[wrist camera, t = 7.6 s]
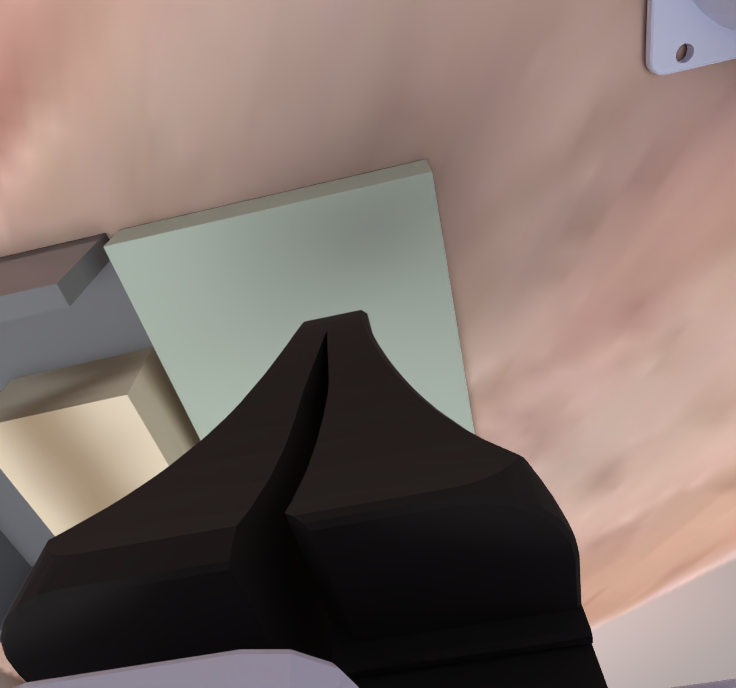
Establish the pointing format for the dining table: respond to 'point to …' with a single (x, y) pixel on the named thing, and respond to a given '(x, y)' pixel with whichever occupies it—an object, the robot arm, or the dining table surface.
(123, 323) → the box
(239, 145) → the dining table surface
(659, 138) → the dining table surface
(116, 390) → the birch tile
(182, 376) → the far plate
